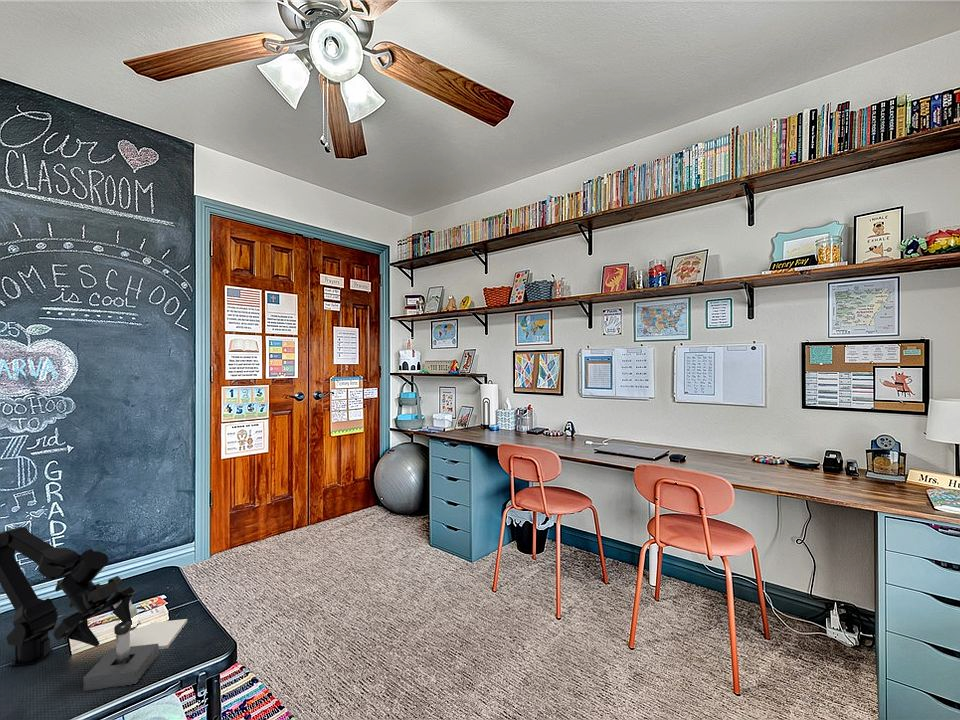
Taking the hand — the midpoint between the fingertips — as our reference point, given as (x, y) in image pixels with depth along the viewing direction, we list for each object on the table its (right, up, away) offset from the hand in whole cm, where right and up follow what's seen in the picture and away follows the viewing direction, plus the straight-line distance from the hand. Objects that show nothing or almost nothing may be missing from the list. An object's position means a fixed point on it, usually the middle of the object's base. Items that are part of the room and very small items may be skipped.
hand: (115, 634), depth 126 cm
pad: (-1, -10, +15) cm, 18 cm away
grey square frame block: (+3, -10, 0) cm, 10 cm away
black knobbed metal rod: (+3, -10, 0) cm, 10 cm away
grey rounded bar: (-19, -10, +28) cm, 35 cm away
